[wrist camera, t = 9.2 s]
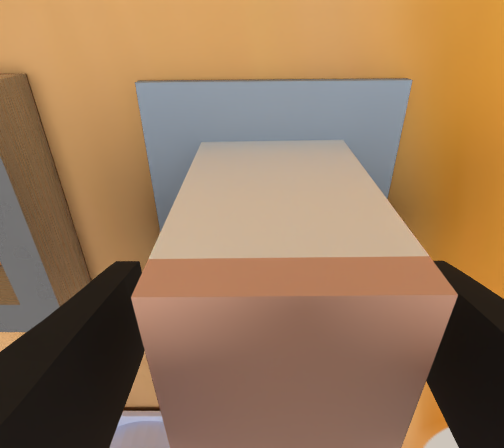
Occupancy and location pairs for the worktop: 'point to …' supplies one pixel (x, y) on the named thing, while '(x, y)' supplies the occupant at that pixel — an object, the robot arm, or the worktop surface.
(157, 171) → the rubber mat
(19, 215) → the frame
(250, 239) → the beige pink box
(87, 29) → the worktop surface
